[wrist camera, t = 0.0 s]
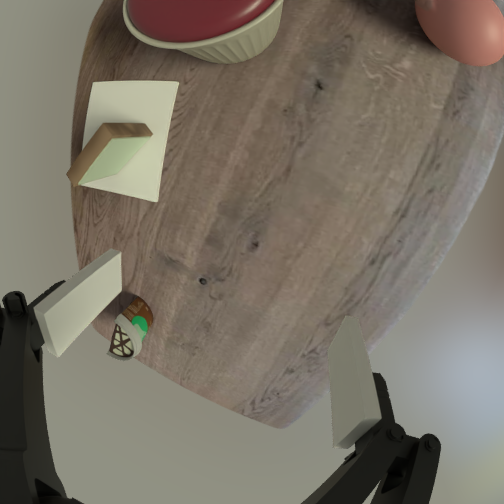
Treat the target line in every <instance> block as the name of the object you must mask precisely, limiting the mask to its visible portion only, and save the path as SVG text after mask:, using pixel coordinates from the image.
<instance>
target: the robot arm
mask: <svg viewBox="0 0 504 504" xmlns="http://www.w3.org/2000/svg"><path fill="white" fill-rule="evenodd" d="M121 291H122V282H121V252H120V251H117V250H114V249H110V250H108V251H107V252H105V253H104V254H102V255H101V256H100V257H98V258H97V259H95V260H94V261H93V262H91V263H90V264H89V265H87V266H86V267H84V268H83V269H82V270H80V271H79V272H78V273H76V274H75V275H74V276H72V278H70V279H68V280H67V281H64V280H63V281H60V282H58V283H55V284H54V285H53V286H51V287H50V288H49V290H46V291H45V292H44V294H41V295H40V296H39V297H38V298H36V299H35V300H34V301H33V302H31V303H30V304H29V305H28V306H27V303H26V299H25V296H24V294H23V293H22V292H20V291H13V292H10V293H8V294H6V295H5V296H4V297H3V299H2V301H3V304H4V307H5V308H1V305H0V504H84V503H82V502H80V501H78V500H76V499H74V498H72V499H69V498H67V496H66V493H65V490H64V487H63V484H62V482H61V481H60V479H59V477H58V476H57V473H56V471H55V467H54V462H53V458H52V453H51V448H50V443H49V437H48V430H47V423H46V415H45V406H44V394H43V371H42V369H43V368H42V354H43V352H42V348H41V346H42V345H43V344H44V343H45V345H46V347H47V350H48V352H50V353H52V354H53V355H55V356H56V357H59V356H60V355H61V354H62V353H63V352H64V351H65V350H66V349H67V347H68V346H69V345H70V344H71V343H72V342H73V341H74V340H75V339H76V338H77V336H78V335H79V334H80V333H81V332H82V331H83V330H84V329H85V328H86V327H87V326H88V325H89V324H90V323H91V322H92V321H93V319H94V318H95V317H96V316H97V315H98V314H99V313H100V312H101V311H102V310H103V309H104V308H105V307H106V306H107V305H108V304H109V303H110V302H111V301H112V300H113V299H114V298H115V297H116V296H117V295H118V294H119V293H120V292H121ZM327 355H328V366H329V378H330V392H331V409H332V429H333V448H344V449H348V448H349V447H351V446H352V445H353V444H354V443H355V451H354V452H352V453H351V454H350V455H349V456H347V457H346V458H345V461H344V463H343V464H342V465H341V466H340V467H339V468H338V469H337V470H336V471H335V472H334V473H333V474H332V475H331V476H330V477H329V478H328V479H327V480H326V481H325V482H324V483H323V484H322V485H321V486H320V487H319V488H318V489H317V490H316V491H315V492H314V493H312V494H311V495H310V496H309V497H308V498H307V499H306V500H305V501H303V502H302V503H301V504H362V503H363V502H364V501H365V500H366V498H367V497H368V496H369V494H370V493H371V492H372V491H373V489H374V488H375V487H376V485H377V484H378V483H379V481H380V483H379V485H378V488H377V490H376V492H375V495H374V497H373V499H372V501H371V503H370V504H429V501H430V497H431V493H432V490H433V486H434V482H435V477H436V473H437V468H438V463H439V457H440V451H441V444H440V441H439V439H438V438H437V437H436V436H434V435H433V434H425V435H423V436H422V437H421V438H420V439H419V438H415V437H412V436H409V435H406V433H405V431H404V429H403V428H402V427H401V426H400V425H399V424H397V423H395V419H394V415H393V410H392V406H391V401H390V398H389V394H388V392H387V390H388V389H387V385H386V381H385V380H384V379H383V377H382V376H381V374H380V373H373V372H372V370H371V366H370V362H369V358H368V354H367V350H366V346H365V342H364V338H363V334H362V331H361V327H360V324H359V320H358V318H355V317H351V316H347V315H346V316H345V318H344V320H343V322H342V324H341V326H340V327H339V329H338V331H337V333H336V335H335V337H334V339H333V341H332V343H331V344H330V346H329V348H328V350H327Z"/></svg>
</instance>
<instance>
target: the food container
mask: <svg viewBox="0 0 504 504" xmlns="http://www.w3.org/2000/svg"><path fill="white" fill-rule="evenodd" d="M114 322H115V323H116V326H115V329H114V333H113V336H112V340H111V345H110V349H109V351H108V353H107V355H109V356H111V357H113V358H115V359H118V360H123V361H125V360H129V359H131V358H134V357H135V356H136V355H137V354H138V353H139V352H140V351H141V348H142V343H141V342H142V340H143V339H144V337H145V335H146V333H147V332H148V330H149V328H150V326H151V325H152V323H153V314H152V311H151V309H150V307H149V306H148V305H147V303H146V302H145V301H144V300H143V299H142V298H140V297H139V296H138V297H137V298H136V299H135V300H134V301H133V302H132V303H131V304H130V305H129V306H128V307H127V308H126V309H125V310H124V312H123V313H122V314H121V313H120V314H119V316H118V317H117V318H116V320H115V321H114Z"/></svg>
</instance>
